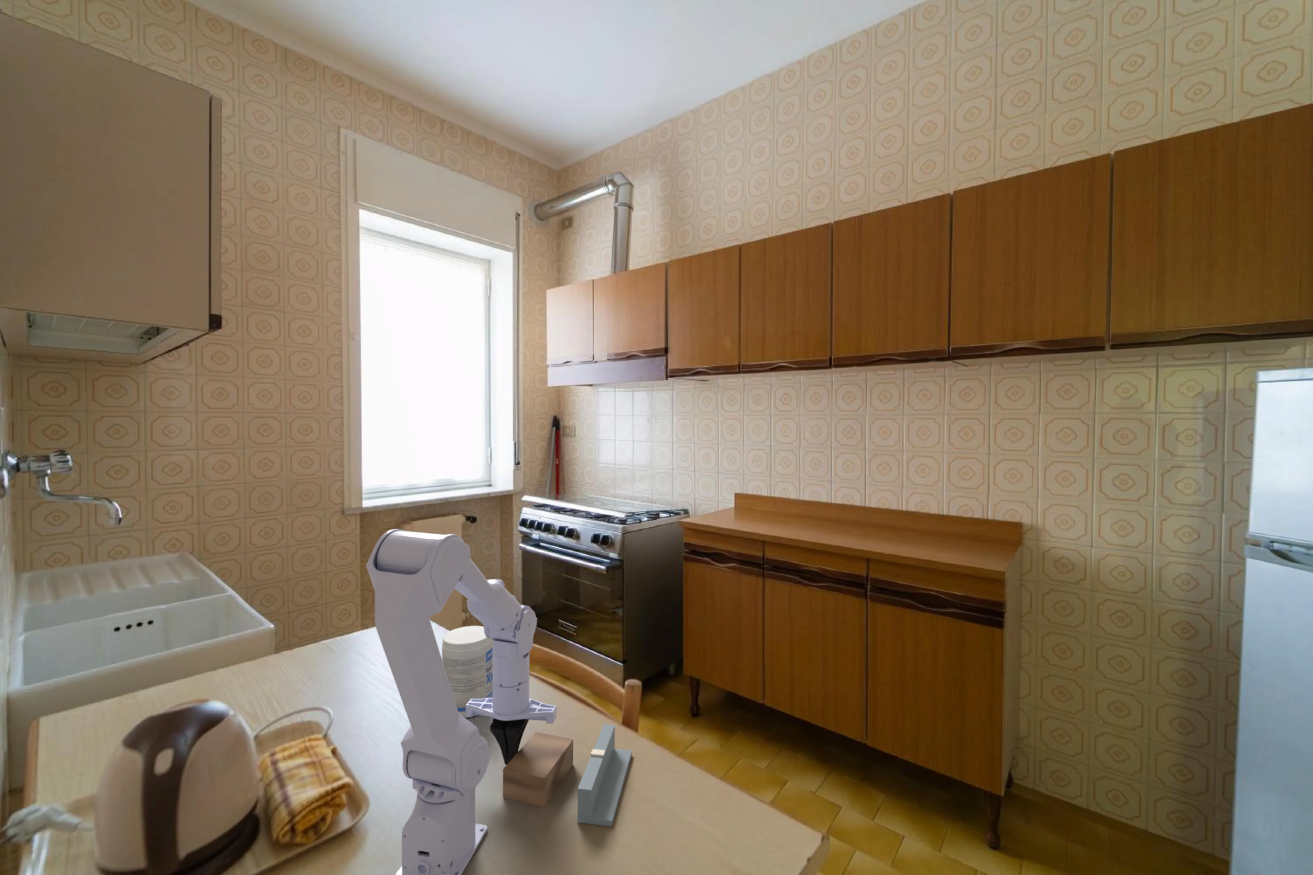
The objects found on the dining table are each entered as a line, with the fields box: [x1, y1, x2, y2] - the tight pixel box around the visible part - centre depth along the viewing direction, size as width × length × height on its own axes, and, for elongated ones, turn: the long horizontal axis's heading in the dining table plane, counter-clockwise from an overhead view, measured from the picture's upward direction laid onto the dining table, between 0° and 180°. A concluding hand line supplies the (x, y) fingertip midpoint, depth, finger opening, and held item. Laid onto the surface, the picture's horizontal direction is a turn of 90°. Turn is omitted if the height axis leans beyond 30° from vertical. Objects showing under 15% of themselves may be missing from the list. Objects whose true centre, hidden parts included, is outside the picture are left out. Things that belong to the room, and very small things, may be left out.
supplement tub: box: [441, 625, 494, 719], centre depth 105 cm, size 10×10×15 cm
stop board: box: [577, 723, 633, 827], centre depth 83 cm, size 16×5×5 cm, turn 172°
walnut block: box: [502, 731, 574, 808], centre depth 84 cm, size 10×7×4 cm
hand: (511, 760), depth 85 cm, fingers closed
